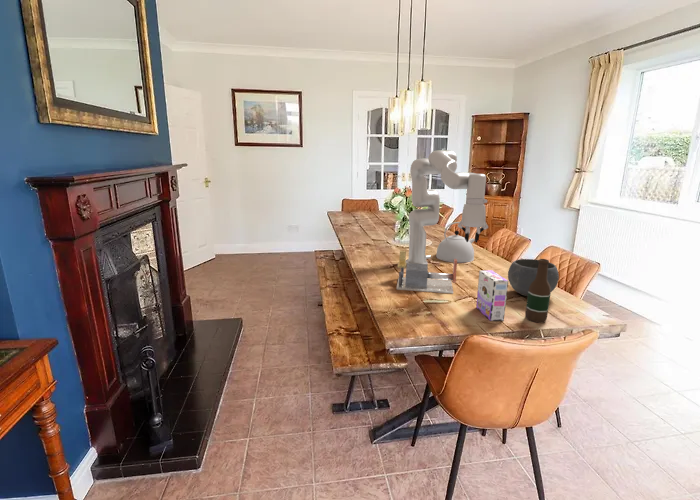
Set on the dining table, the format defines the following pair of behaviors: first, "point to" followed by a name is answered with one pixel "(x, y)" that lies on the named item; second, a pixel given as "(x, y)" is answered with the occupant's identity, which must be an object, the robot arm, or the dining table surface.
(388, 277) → the dining table surface
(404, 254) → the plate
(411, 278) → the hitch block
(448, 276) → the lynch pin
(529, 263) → the bowl
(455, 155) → the robot arm
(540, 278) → the beer bottle
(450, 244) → the kettle
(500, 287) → the candy box
